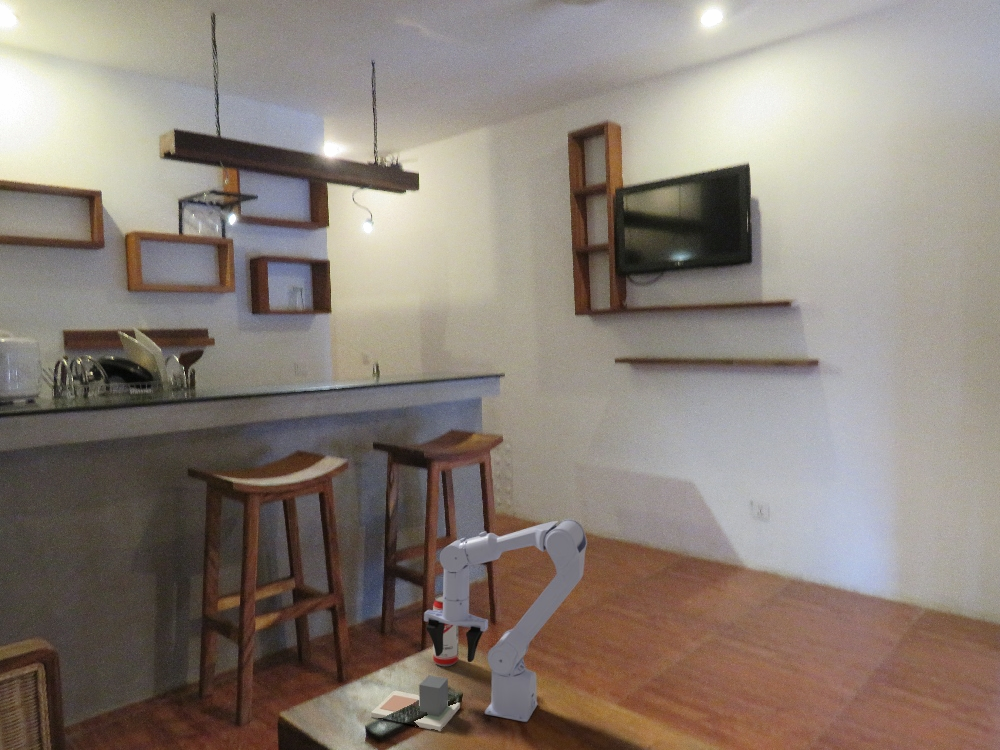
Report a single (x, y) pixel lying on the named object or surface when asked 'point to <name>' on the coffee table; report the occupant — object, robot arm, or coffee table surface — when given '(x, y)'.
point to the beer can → (446, 640)
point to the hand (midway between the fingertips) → (455, 657)
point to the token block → (433, 695)
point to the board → (403, 699)
